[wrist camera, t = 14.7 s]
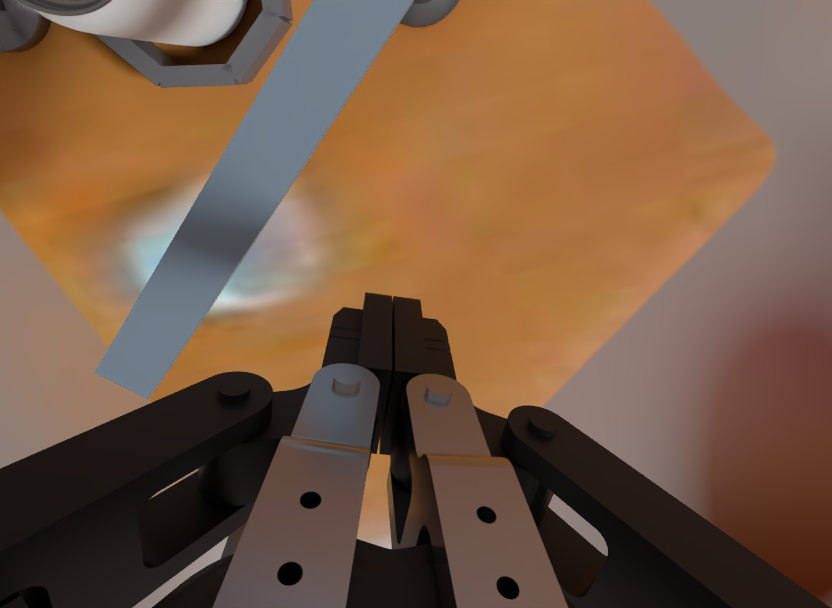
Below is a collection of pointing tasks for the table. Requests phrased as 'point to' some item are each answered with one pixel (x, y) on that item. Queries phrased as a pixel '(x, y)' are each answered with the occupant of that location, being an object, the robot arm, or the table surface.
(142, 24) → the can
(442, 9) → the pivot post
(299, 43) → the swing arm
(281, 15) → the collar
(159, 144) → the table surface
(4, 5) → the dark grey piece
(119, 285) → the table surface
